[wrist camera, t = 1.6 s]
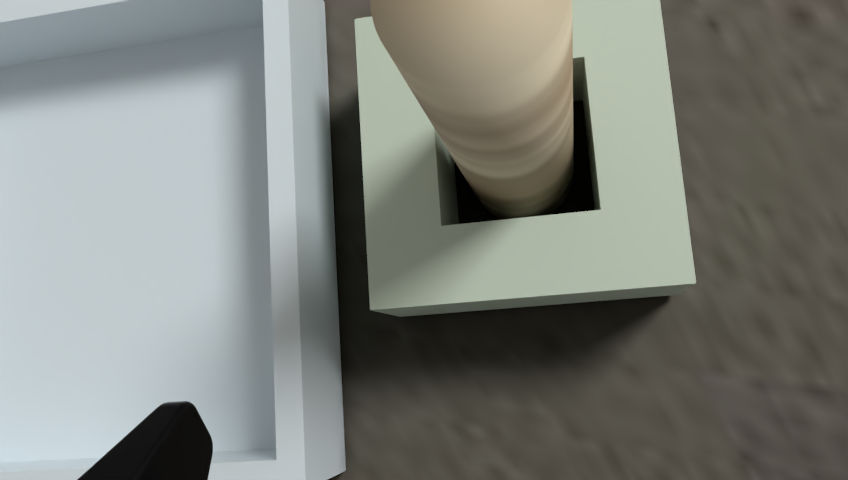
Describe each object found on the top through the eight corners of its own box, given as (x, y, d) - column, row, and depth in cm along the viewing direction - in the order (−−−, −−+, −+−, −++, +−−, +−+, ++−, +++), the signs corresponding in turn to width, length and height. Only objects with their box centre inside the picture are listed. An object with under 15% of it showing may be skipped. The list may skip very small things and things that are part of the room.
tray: (345, 470, 23) (305, 490, 20) (-84, 487, 26) (-184, 507, 22) (324, 2, 26) (286, -52, 22) (-63, 65, 28) (-149, 26, 25)
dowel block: (677, 294, 22) (696, 283, 18) (399, 317, 23) (370, 310, 20) (644, 27, 23) (656, -29, 20) (384, 65, 25) (354, 18, 21)
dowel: (578, 217, 23) (582, 71, 11) (475, 227, 23) (375, 99, 12) (568, 117, 23) (561, -122, 12) (467, 130, 24) (365, -85, 12)
